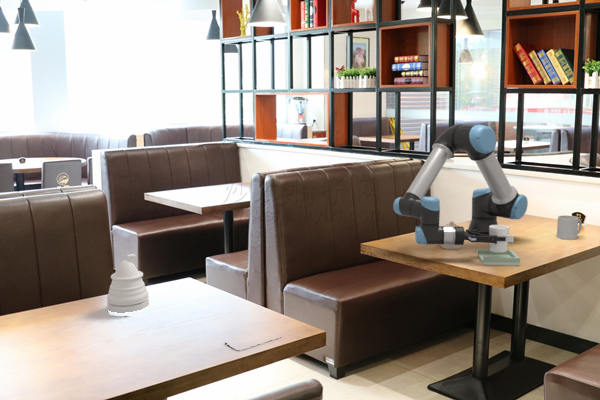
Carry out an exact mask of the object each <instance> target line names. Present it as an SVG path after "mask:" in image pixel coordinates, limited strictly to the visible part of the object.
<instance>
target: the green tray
mask: <svg viewBox="0 0 600 400" xmlns="http://www.w3.org/2000/svg"><path fill="white" fill-rule="evenodd" d="M476 254H477V258H478V259H479V260H480V262H481V263H482V265H483V266H514V267H516V266H519V267H520V266H521V258H520V256H519V255H518V254H517V253H516V252H515V251H514V250H513V249H507V251H506V252H492V251H490V248H489V249H487V248H486V249H485V248H482V249H481V248H477V253H476Z"/></svg>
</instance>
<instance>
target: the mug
mask: <svg viewBox="0 0 600 400" xmlns="http://www.w3.org/2000/svg"><path fill="white" fill-rule="evenodd" d="M556 225H557V226H556V227H557V228H556V238H557V239H559V238H560V240H566V241H567V240H569V241H572V240H573V241H575V240H577V239H578V235H579V234H580V233H581V232H582V228H583V223H582V221H581V219H579V217H578V216H576V215H575V216H574V215H569V214H568V215H557V224H556Z"/></svg>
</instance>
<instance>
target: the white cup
mask: <svg viewBox="0 0 600 400" xmlns="http://www.w3.org/2000/svg"><path fill="white" fill-rule="evenodd" d="M489 235H494V236H497V235H510V226H508V225H503V224H498V225H490V226H489ZM508 244H509V242H497V244H495V243H488V245H489V249H490V251H492V252H506V251H507V250H508Z"/></svg>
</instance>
